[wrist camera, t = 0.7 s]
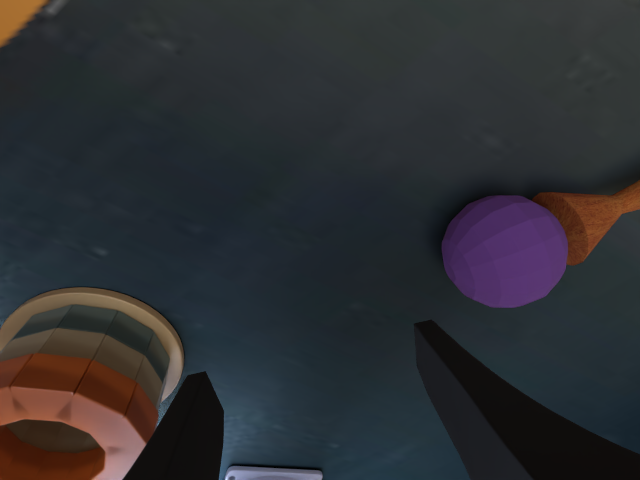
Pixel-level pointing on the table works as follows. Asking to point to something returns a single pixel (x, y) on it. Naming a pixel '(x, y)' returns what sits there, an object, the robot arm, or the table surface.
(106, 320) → the ring stand
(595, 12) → the table surface
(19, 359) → the top ring
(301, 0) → the table surface
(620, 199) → the purple maraca
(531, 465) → the robot arm
